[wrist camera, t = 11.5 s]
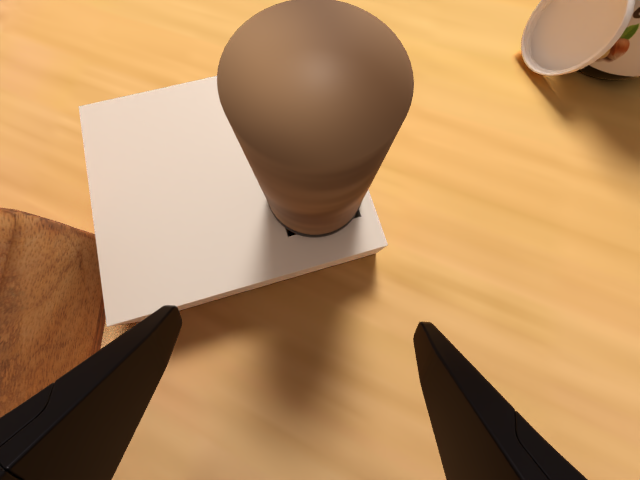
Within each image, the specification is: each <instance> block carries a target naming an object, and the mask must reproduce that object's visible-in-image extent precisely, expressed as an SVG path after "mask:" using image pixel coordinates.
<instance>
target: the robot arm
mask: <svg viewBox="0 0 640 480" xmlns="http://www.w3.org/2000/svg"><path fill="white" fill-rule="evenodd" d="M181 326H182V319H181V316H180V313H179V310H178V307H177V306H175V305H164V306H162V307H161V308H159V309H158V310H157V311H155V312H154V313H152V314H151V315H149V316H148V317H146V318H145V319H144V320H142V321H141V322H139V323H138V324H136V325H135V326H134V327H132V328H131V329H129V330H128V331H126V332H125V333H123V334H122V335H121V336H119V337H118V338H116V339H115V340H113V341H112V342H110V343H109V344H108V345H106V346H105V347H103V348H102V349H100V350H99V351H97V352H96V353H95V354H93V355H92V356H90V357H89V358H87V359H86V360H84V361H83V362H82V363H80V364H79V365H77V366H76V367H74V368H73V369H71V370H70V371H69V372H67V373H66V374H64V375H63V376H61V377H60V378H58V379H57V380H56V381H55V383H51V384H50V385H48V386H47V387H45V388H44V389H42V390H41V391H40V392H38V393H37V394H35V395H34V396H32V397H31V398H29V399H28V400H26V401H25V402H23V403H22V404H20V405H19V406H17V407H16V408H14V409H13V410H11V411H10V412H8V413H6V414H5V415H3V416H2V417H0V480H112V478H113V476H114V473H115V471H116V469H117V467H118V465H119V463H120V461H121V459H122V457H123V455H124V453H125V451H126V449H127V447H128V445H129V443H130V441H131V439H132V437H133V435H134V433H135V430H136V428H137V426H138V424H139V422H140V420H141V418H142V416H143V414H144V412H145V410H146V408H147V406H148V404H149V402H150V400H151V398H152V396H153V394H154V392H155V390H156V387H157V385H158V383H159V381H160V379H161V377H162V375H163V373H164V371H165V369H166V367H167V364H168V362H169V359H170V356H171V354H172V351H173V348H174V345H175V343H176V340H177V337H178V334H179V332H180V329H181ZM413 341H414V348H415V354H416V360H417V366H418V372H419V378H420V383H421V387H422V391H423V395H424V399H425V402H426V406H427V410H428V413H429V417H430V421H431V424H432V428H433V432H434V435H435V439H436V443H437V446H438V450H439V454H440V457H441V461H442V465H443V468H444V472H445V476H446V479H447V480H587V479H586V478H585V477H584V476H583V475H582V474H581V473H580V472H579V471H578V470H577V469H575V468H574V467H573V466H572V465H571V464H570V463H569V462H568V461H567V460H566V459H565V458H564V457H563V456H561V455H560V454H559V453H558V452H557V451H556V450H555V449H554V448H553V447H552V446H551V445H550V444H549V443H548V442H547V441H546V440H545V439H544V438H543V437H542V436H541V435H540V434H539V433H538V432H537V431H536V430H535V429H534V428H533V427H532V426H531V425H530V424H529V423H528V422H527V421H526V420H525V419H524V418H523V417H522V416H521V415H520V414H519V413H518V412H517V411H515V409H514V408H513V407H512V406H511V405H510V404H509V403H508V402H507V401H506V400H505V398H504V397H503V396H502V395H501V394H500V393H499V392H498V391H497V390H496V389H495V388H494V387H493V386H492V385H491V384H490V383H489V382H488V381H487V380H486V379H485V378H484V377H483V376H482V375H481V374H480V372H479V371H478V370H477V369H476V368H475V367H474V366H473V365H472V364H471V363H470V362H469V361H468V360H467V359H466V358H465V357H464V356H463V355H462V354H461V353H460V352H459V351H458V350H457V349H456V348H455V347H454V345H453V344H452V343H451V342H450V341H449V340H448V339H447V338H446V337H445V336H444V335H443V334H442V333H441V332H440V331H439V330H438V329H437V328H436V327H435V326H434V325H433V324H432V323H430V322H420V323H419V324H418V326H417V329H416V331H415V334H414V338H413Z"/></svg>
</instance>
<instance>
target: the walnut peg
mask: <svg viewBox="0 0 640 480" xmlns="http://www.w3.org/2000/svg"><path fill="white" fill-rule="evenodd" d="M217 88H218V95H219V99H220V103H221V105H222V108H223V110H224V113H225V115H226V117H227V119H228V121H229V123H230V125H231V127H232V129H233V132H234V134H235V136H236V138H237V140H238V142H239V144H240V146H241V148H242V150H243V152H244V154H245V156H246V158H247V160H248V162H249V165H250V167H251V169H252V171H253V173H254V175H255V177H256V179H257V181H258V183H259V185H260V187H261V189H262V191H263V193H264V195H265V197H266V200H267V202H268V205H269V207H270V210H271V211H272V213H273V215H274V217H275V218H276V219H277V221H278V222H279V223H280V224H281V225H282V226H284V227H285V228H286V229H287V230H289V231H291V232H293V233H295V234H298V235H301V236H304V237H325V236H329V235H332V234H334V233H337V232H338V231H340V230H342V229H343V228H344V227H346V226H347V225H348V224H349V223H350V222H351V221H352V219H353V218H354V217H355V215H356V213H357V212H358V210H359V208H360V205H361V202H362V200H363V198H364V197H365V195H366V193H367V191H368V189H369V187H370V185H371V183H372V181H373V179H374V177H375V175H376V173H377V171H378V170H379V168H380V166H381V164H382V162H383V160H384V158H385V156H386V154H387V152H388V150H389V148H390V146H391V145H392V143H393V141H394V139H395V137H396V135H397V133H398V131H399V129H400V127H401V125H402V123H403V121H404V119H405V118H406V116H407V113H408V110H409V108H410V105H411V101H412V97H413V88H414V80H413V71H412V67H411V62H410V60H409V57H408V55H407V52H406V50H405V48H404V47H403V45H402V43H401V42H400V40H399V39H398V38H397V36H396V35H395V34H394V33H393V32H392V30H391V29H390V28H389V27H388V26H387V25H385V24H384V23H383V22H382V21H380V20H379V19H378V18H377V17H375V16H373V15H372V14H370V13H369V12H367V11H365V10H363V9H361V8H359V7H356V6H353V5H351V4H348V3H345V2H340V1H336V0H291V1H286V2H283V3H279V4H276V5H273V6H271V7H269V8H266V9H264V10H262V11H261V12H259V13H257V14H255V15H254V16H253V17H251V18H250V19H249V20H247V21H246V22H245V23H244V24H243V25H242V26H241V27H239V28H238V29H237V31H236V32H235V33H234V34H233V36H232V37H231V38H230V40H229V41H228V43H227V45H226V46H225V48H224V51H223V53H222V56H221V58H220V62H219V66H218V73H217Z"/></svg>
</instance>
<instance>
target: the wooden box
mask: <svg viewBox="0 0 640 480" xmlns="http://www.w3.org/2000/svg"><path fill="white" fill-rule="evenodd" d="M105 318H106V316H105V308H104V300H103V292H102V284H101V277H100V269H99V261H98V253H97V245H96V237H95V234H92V233H89V232H86V231H83V230H80V229H76V228H74V227H71V226H68V225H65V224H63V223H60V222H56V221H53V220H50V219H46V218H43V217H40V216H36V215H33V214H30V213H26V212H22V211H19V210H14V209H7V208H0V417H2V416H3V415H5V414H6V413H8V412H10V411H11V410H13V409H14V408H16V407H17V406H19V405H20V404H22V403H23V402H25V401H26V400H28V399H29V398H31V397H32V396H34V395H35V394H37V393H38V392H40V391H41V390H42V389H44V388H45V387H47V386H48V385H50V384H51V383H55V381H56V380H57V379H58V378H60V377H61V376H63V375H64V374H66V373H67V372H69V371H70V370H71V369H73V368H74V367H76V366H77V365H79V364H80V363H82V362H83V361H84V360H86V359H87V358H89V357H90V356H92V355H93V354H95V353H96V352H97V351H99V350H100V347H101V341H102V335H103V329H104V324H105Z"/></svg>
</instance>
